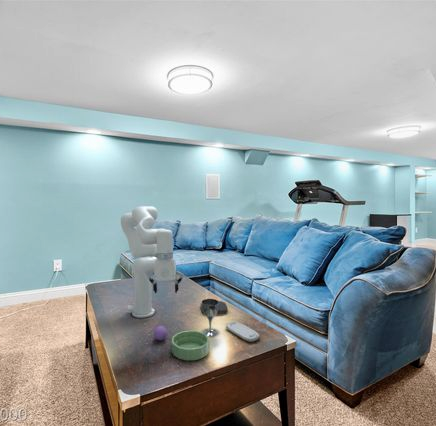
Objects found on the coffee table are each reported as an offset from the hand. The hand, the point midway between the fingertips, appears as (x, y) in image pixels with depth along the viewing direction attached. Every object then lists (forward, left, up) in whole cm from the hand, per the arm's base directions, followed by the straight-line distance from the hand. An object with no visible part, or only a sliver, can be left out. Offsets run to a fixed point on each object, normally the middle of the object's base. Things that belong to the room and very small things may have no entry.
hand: (166, 292), depth 127 cm
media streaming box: (+24, +29, -21) cm, 43 cm away
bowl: (+12, -14, -20) cm, 27 cm away
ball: (-2, -5, -20) cm, 21 cm away
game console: (+36, +1, -21) cm, 41 cm away
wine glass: (+21, +2, -21) cm, 29 cm away
